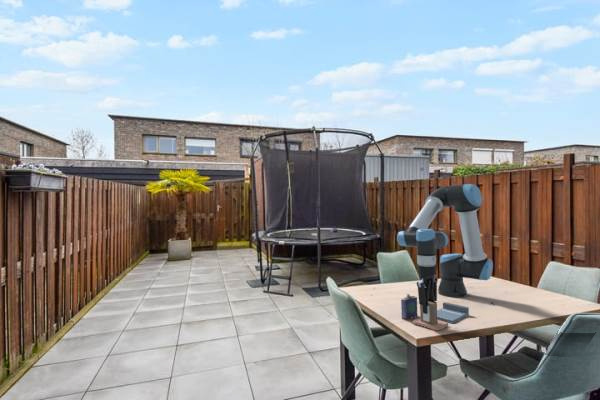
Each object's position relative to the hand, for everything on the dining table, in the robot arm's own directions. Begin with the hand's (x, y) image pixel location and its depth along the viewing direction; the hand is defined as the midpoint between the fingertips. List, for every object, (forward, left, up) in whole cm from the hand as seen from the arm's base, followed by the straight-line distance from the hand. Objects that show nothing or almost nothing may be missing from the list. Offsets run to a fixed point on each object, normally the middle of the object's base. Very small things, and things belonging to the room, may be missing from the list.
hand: (428, 319), depth 130 cm
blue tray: (0, +18, -3) cm, 18 cm away
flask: (-11, +3, -3) cm, 12 cm away
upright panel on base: (0, +1, -3) cm, 3 cm away
